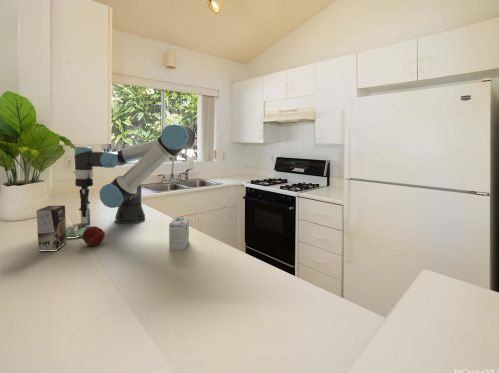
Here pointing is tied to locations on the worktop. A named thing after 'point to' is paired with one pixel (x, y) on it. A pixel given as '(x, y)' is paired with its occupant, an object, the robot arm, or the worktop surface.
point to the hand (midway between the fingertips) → (85, 219)
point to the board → (76, 231)
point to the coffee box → (51, 227)
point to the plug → (88, 218)
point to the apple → (93, 236)
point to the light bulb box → (178, 234)
